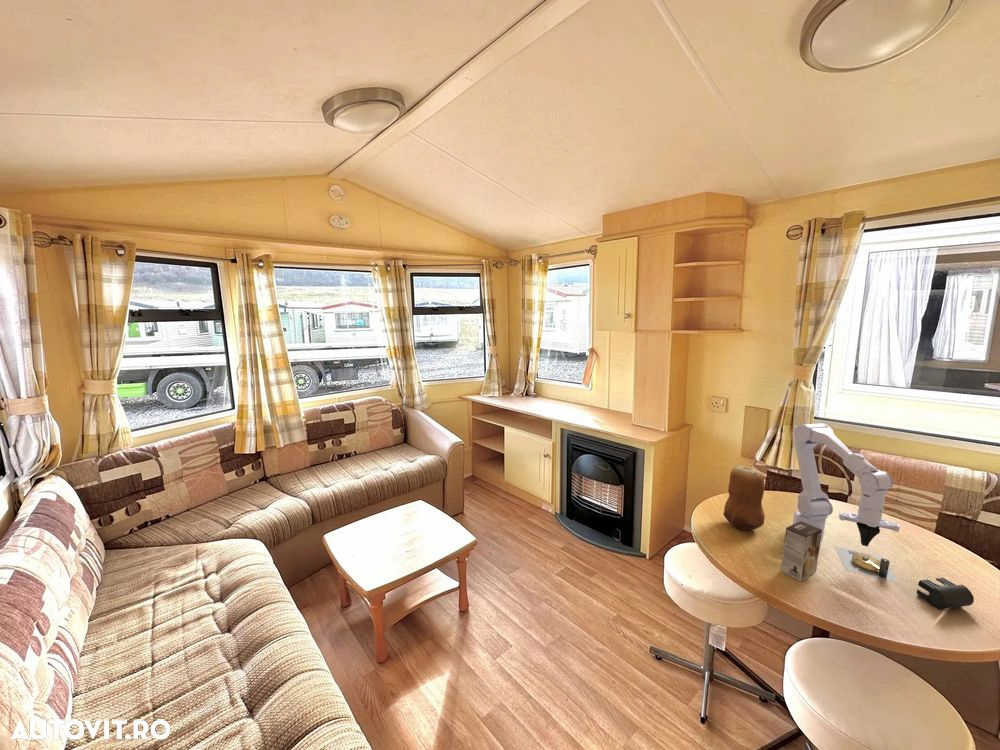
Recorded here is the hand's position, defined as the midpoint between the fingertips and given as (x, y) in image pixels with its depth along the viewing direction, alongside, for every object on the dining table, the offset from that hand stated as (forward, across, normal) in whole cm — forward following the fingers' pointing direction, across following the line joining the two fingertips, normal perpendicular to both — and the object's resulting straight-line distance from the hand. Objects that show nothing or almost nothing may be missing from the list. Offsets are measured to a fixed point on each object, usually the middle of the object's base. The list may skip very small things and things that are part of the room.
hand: (864, 544), depth 133 cm
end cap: (+9, +17, -10) cm, 21 cm away
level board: (+9, +2, +2) cm, 9 cm away
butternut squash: (+9, -34, +10) cm, 37 cm away
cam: (+8, +3, 0) cm, 8 cm away
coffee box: (+9, -18, -13) cm, 24 cm away
